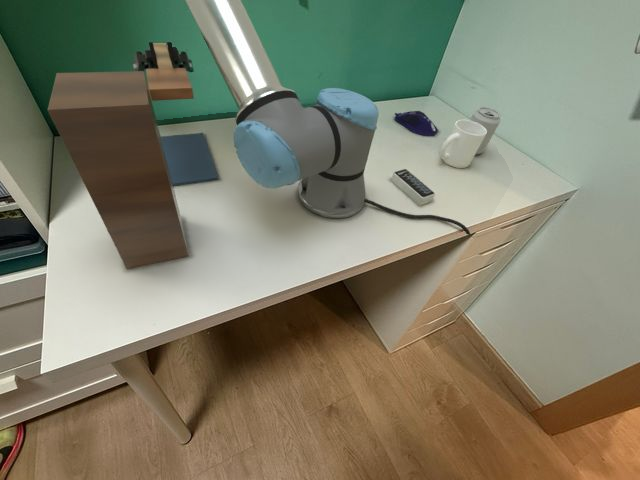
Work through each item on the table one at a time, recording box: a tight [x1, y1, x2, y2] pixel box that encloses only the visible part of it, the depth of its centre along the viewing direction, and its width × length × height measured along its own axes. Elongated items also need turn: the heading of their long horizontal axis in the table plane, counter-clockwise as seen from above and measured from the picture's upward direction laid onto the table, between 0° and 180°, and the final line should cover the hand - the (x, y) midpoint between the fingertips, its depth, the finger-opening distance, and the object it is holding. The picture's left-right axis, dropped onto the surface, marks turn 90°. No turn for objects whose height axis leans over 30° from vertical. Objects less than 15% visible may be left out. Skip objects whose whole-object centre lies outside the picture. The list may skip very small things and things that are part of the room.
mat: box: [160, 132, 219, 187], centre depth 78 cm, size 20×12×1 cm, turn 23°
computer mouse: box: [394, 110, 439, 137], centre depth 104 cm, size 9×15×4 cm, turn 58°
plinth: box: [47, 70, 190, 270], centre depth 50 cm, size 10×10×28 cm
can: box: [470, 106, 502, 156], centre depth 95 cm, size 8×8×12 cm
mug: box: [439, 119, 487, 169], centre depth 89 cm, size 12×8×10 cm
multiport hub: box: [390, 168, 436, 206], centre depth 80 cm, size 4×11×2 cm, turn 31°
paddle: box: [145, 43, 195, 102], centre depth 64 cm, size 23×7×2 cm, turn 23°
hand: (161, 50), depth 63 cm, fingers closed on paddle, 3 cm apart
